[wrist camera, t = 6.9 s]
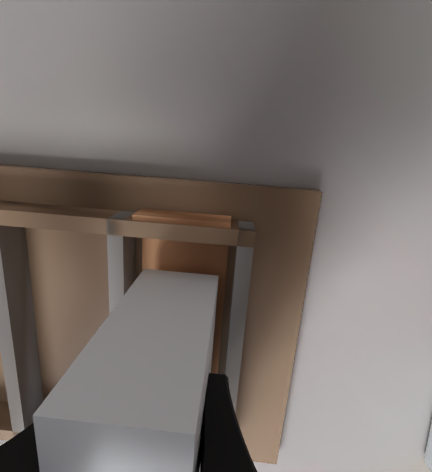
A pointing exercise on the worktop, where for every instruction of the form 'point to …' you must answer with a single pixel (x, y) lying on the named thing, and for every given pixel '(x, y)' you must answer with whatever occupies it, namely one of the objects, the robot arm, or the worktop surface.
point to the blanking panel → (136, 383)
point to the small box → (429, 450)
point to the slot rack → (157, 258)
